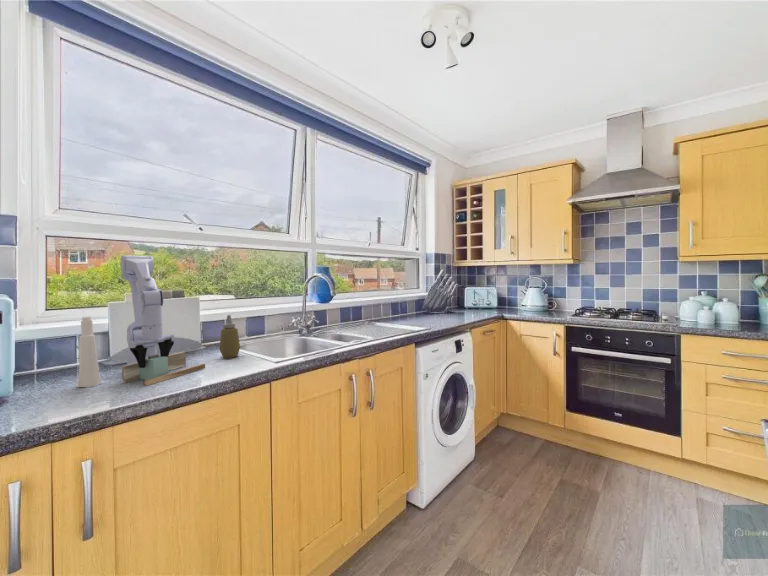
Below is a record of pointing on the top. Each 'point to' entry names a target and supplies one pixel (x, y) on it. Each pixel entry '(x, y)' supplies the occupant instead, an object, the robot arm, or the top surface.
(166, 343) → the robot arm
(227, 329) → the squeeze bottle
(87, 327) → the cosmetic bottle
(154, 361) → the teal box
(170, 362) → the cleat board
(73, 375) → the top surface
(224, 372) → the top surface
